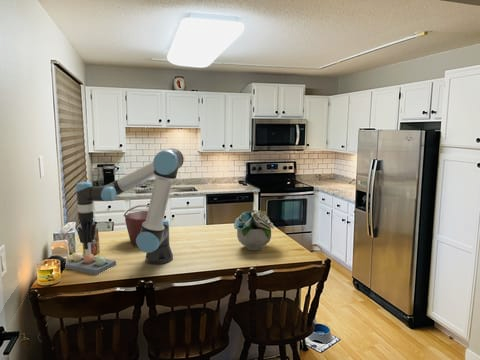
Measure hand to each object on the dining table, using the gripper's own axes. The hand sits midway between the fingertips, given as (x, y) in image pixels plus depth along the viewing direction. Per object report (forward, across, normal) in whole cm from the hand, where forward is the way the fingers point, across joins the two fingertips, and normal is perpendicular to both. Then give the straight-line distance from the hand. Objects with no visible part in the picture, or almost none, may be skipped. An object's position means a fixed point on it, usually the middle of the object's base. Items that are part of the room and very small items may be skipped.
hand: (88, 254), depth 189 cm
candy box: (+7, -14, -12) cm, 20 cm away
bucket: (+7, -43, +4) cm, 44 cm away
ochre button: (+5, 0, -8) cm, 9 cm away
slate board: (+7, 0, 0) cm, 7 cm away
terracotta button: (+5, 0, 0) cm, 5 cm away
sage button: (+5, 0, +8) cm, 9 cm away
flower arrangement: (+7, -60, +73) cm, 95 cm away
